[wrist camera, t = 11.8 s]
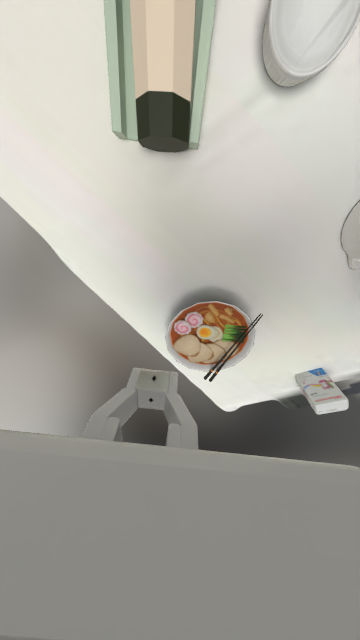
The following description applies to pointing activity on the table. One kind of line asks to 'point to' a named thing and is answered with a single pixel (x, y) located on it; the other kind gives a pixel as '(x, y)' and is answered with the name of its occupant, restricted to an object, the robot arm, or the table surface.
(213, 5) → the tray
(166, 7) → the wine bottle
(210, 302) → the ramen bowl
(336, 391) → the ink box
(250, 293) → the table surface
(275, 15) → the ramekin
